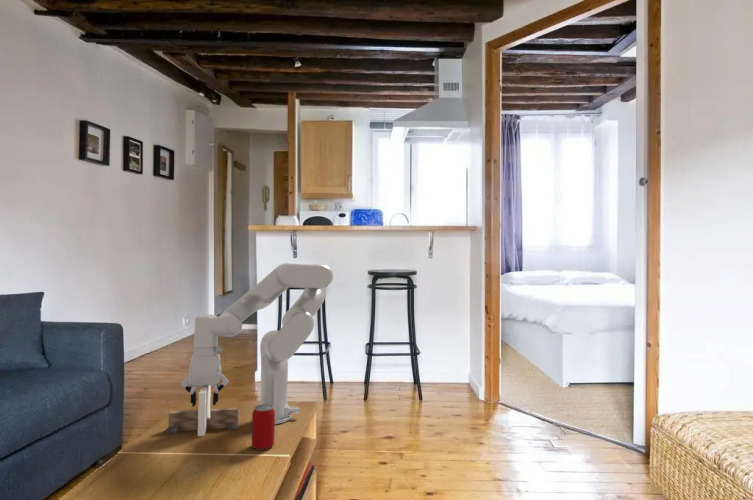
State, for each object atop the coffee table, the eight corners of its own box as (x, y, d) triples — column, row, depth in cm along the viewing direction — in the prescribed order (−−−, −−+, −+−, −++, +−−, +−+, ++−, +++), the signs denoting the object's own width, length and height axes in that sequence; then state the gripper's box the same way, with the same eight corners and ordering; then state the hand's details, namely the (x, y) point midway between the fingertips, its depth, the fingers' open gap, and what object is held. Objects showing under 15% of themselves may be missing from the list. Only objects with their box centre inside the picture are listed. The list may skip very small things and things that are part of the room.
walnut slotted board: (238, 422, 156) (238, 405, 156) (236, 429, 150) (237, 411, 150) (171, 427, 151) (171, 409, 151) (166, 433, 145) (167, 415, 145)
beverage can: (268, 440, 141) (268, 402, 141) (278, 447, 136) (278, 407, 136) (247, 445, 137) (248, 406, 137) (257, 453, 131) (258, 412, 132)
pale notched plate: (209, 420, 157) (210, 381, 158) (204, 435, 144) (205, 392, 144) (203, 421, 157) (204, 381, 157) (197, 436, 143) (198, 392, 144)
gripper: (233, 348, 157) (232, 400, 156) (181, 350, 153) (179, 402, 152) (231, 352, 149) (229, 406, 149) (176, 354, 145) (174, 409, 145)
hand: (204, 404), depth 151 cm, fingers open, 6 cm apart
